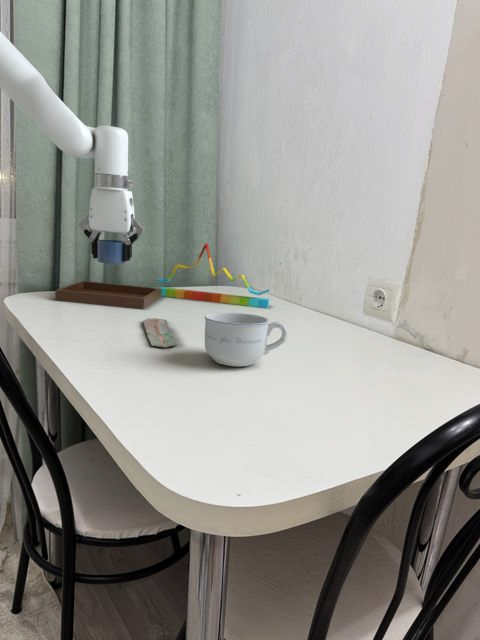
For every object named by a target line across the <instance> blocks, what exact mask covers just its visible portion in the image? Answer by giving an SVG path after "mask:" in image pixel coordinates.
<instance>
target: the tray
mask: <svg viewBox="0 0 480 640" xmlns="http://www.w3.org/2000/svg"><path fill="white" fill-rule="evenodd" d="M54 292H55V293H54V294H55V301H59V302H69V303H70V302H71V303H80V304H90V305H98V306H101V305H102V306H109V307H119V308H127V309H128V308H130V309H138V310H139V309H140V310H145V309H147V308H148V307H149V306H151V305H152V304H154V303H155V302H157V301H159V300H160V299H162V296H161V288H159V287H148V286H138V285H128V284H121V283H120V284H118V283H109V282H99V281H89V280H81V281H78V282H74V283H71V284H68V285H66V286H63V287H59V288H57V289H55V291H54Z"/></svg>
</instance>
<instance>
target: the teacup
mask: <svg viewBox="0 0 480 640" xmlns="http://www.w3.org/2000/svg"><path fill="white" fill-rule="evenodd" d="M204 320H205V322H204V348H205V352H206V353H207V355H208V356H210V358H212V359H213V361H214V362H216V363H217V364H220V365H222V366H223V365H224V366H228V367H229V366H230V367H248V366H252V365H254V364H255V363H256V362H257V361H258V360H260V359H261V358H262V357H263V356H265V355H268V354H269V353H270V352H271V351H272V350H274V349H277V348H279V347H280V346H282V345H283V344H285V342H286V341H287V339H288V336H289V335H288V332H289V331H288V328H287V326H286V324H284V323H283V322H280V321H273V322H270V320H269V318H267V317H265V316H262V315H258V314H252V313H247V312H246V313H245V312H228V311H227V312H226V311H225V312H211V313H208V314H205V315H204ZM276 328H277V329H280V331H281V336H280V338H279V339H278V340H276V341H275V342H272V343H270V344H267V342H268V337H269V336H270V334H271V332H272V331H273V330H274V329H276Z"/></svg>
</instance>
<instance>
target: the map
mask: <svg viewBox="0 0 480 640" xmlns="http://www.w3.org/2000/svg"><path fill="white" fill-rule="evenodd" d="M143 325H144V329H145V332H146V335H147V338H148V341H149V342H150V346H153V347H160V348H169V347H176V346H179V343H178V342H177V340H176V339H175V337H174V335H173V333H172V331H171V329H170V327H169V322H168V319H165V318H156V317H151V318H148V317H147V318H146V319H143Z"/></svg>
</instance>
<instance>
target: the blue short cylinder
mask: <svg viewBox="0 0 480 640" xmlns="http://www.w3.org/2000/svg"><path fill="white" fill-rule="evenodd" d="M123 245H125V241H124V240H117V239H99V240H97V258H96V261H97V262H98V263H102V264H113V265H120V264H126V263H127V261H123Z"/></svg>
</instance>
